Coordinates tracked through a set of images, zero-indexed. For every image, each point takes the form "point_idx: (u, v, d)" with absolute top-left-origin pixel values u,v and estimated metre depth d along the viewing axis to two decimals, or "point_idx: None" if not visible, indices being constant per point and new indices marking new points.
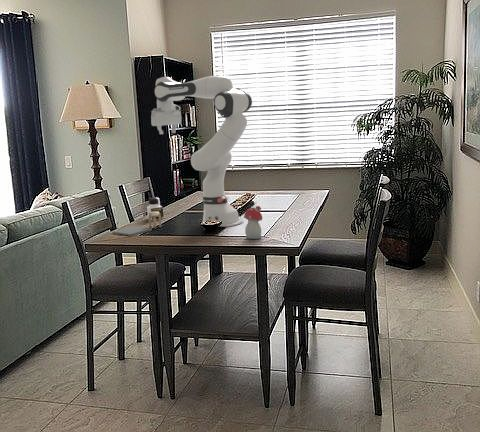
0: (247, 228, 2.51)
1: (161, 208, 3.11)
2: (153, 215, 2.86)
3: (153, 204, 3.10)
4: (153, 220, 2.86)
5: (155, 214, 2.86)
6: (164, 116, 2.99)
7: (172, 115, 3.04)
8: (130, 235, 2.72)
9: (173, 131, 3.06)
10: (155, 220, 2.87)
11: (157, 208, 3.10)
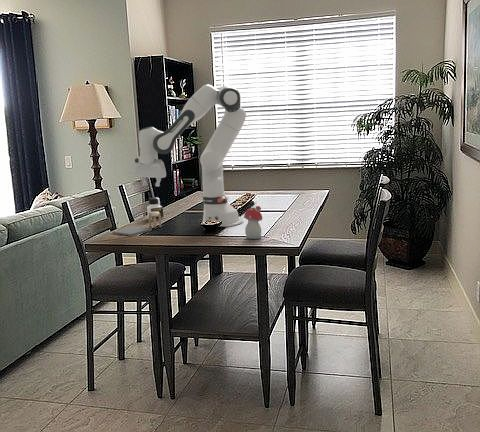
0: (247, 228, 2.51)
1: (161, 208, 3.11)
2: (153, 215, 2.86)
3: (153, 204, 3.10)
4: (153, 220, 2.86)
5: (155, 214, 2.86)
6: None
7: None
8: (130, 235, 2.72)
9: (146, 183, 2.89)
10: (155, 220, 2.87)
11: (157, 208, 3.10)
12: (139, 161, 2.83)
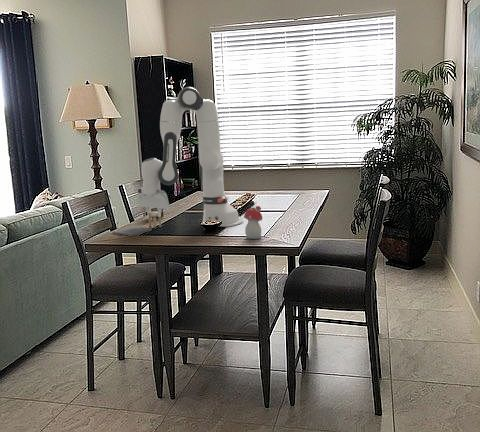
0: (247, 228, 2.51)
1: None
2: (153, 215, 2.86)
3: None
4: (153, 220, 2.86)
5: (155, 214, 2.86)
6: None
7: None
8: (130, 235, 2.72)
9: None
10: (155, 220, 2.87)
11: None
12: (142, 192, 2.86)
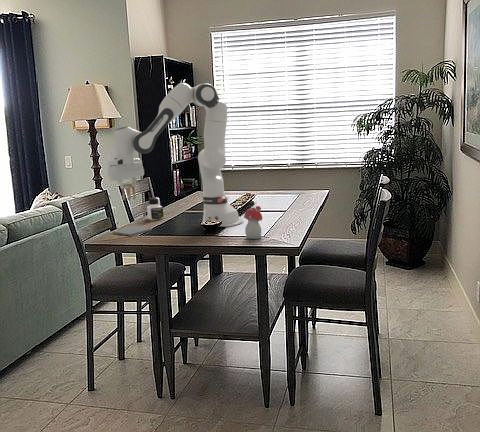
0: (247, 228, 2.51)
1: (161, 208, 3.11)
2: (133, 185, 2.78)
3: (153, 204, 3.10)
4: (134, 190, 2.78)
5: None
6: None
7: None
8: (130, 235, 2.72)
9: None
10: None
11: (157, 208, 3.10)
12: (125, 162, 2.70)
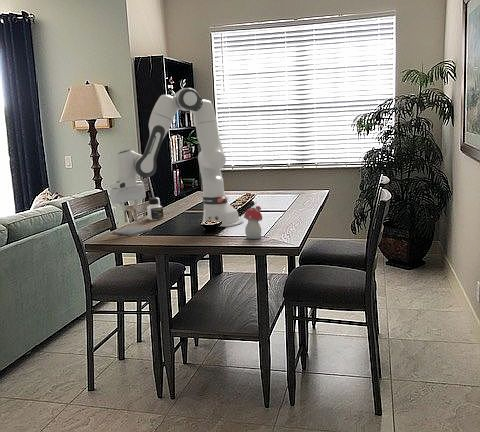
0: (247, 228, 2.51)
1: (161, 208, 3.11)
2: None
3: (153, 204, 3.10)
4: (136, 213, 2.80)
5: None
6: None
7: None
8: (130, 235, 2.72)
9: None
10: None
11: (157, 208, 3.10)
12: (127, 185, 2.73)
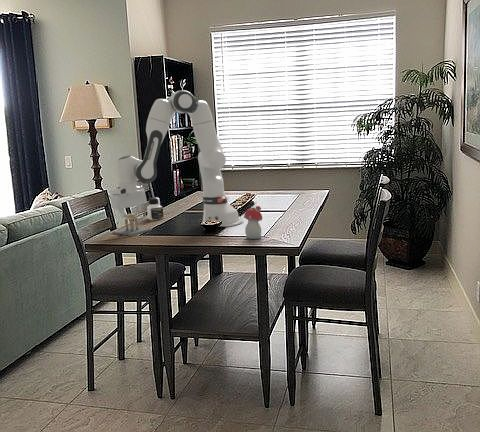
0: (247, 228, 2.51)
1: (161, 208, 3.11)
2: None
3: (153, 204, 3.10)
4: (137, 221, 2.81)
5: None
6: None
7: None
8: (130, 235, 2.72)
9: None
10: None
11: (157, 208, 3.10)
12: (127, 191, 2.73)
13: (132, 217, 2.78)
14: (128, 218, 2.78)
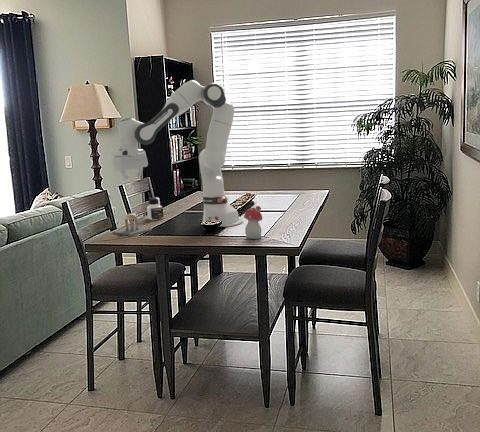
0: (247, 228, 2.51)
1: (161, 208, 3.11)
2: None
3: (153, 204, 3.10)
4: (137, 221, 2.81)
5: None
6: None
7: None
8: (130, 235, 2.72)
9: None
10: None
11: (157, 208, 3.10)
12: (129, 153, 2.76)
13: (132, 217, 2.78)
14: (128, 218, 2.78)
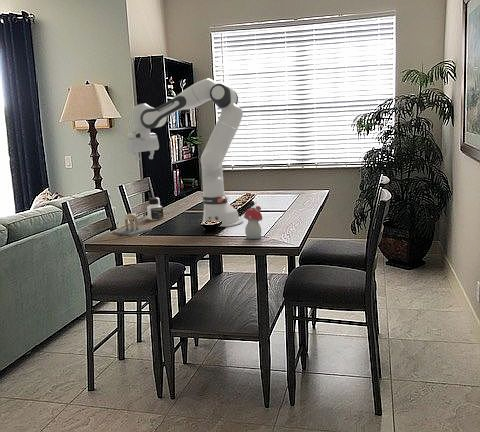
0: (247, 228, 2.51)
1: (161, 208, 3.11)
2: None
3: (153, 204, 3.10)
4: (137, 221, 2.81)
5: None
6: None
7: None
8: (130, 235, 2.72)
9: None
10: None
11: (157, 208, 3.10)
12: (142, 136, 2.95)
13: (132, 217, 2.78)
14: (128, 218, 2.78)
